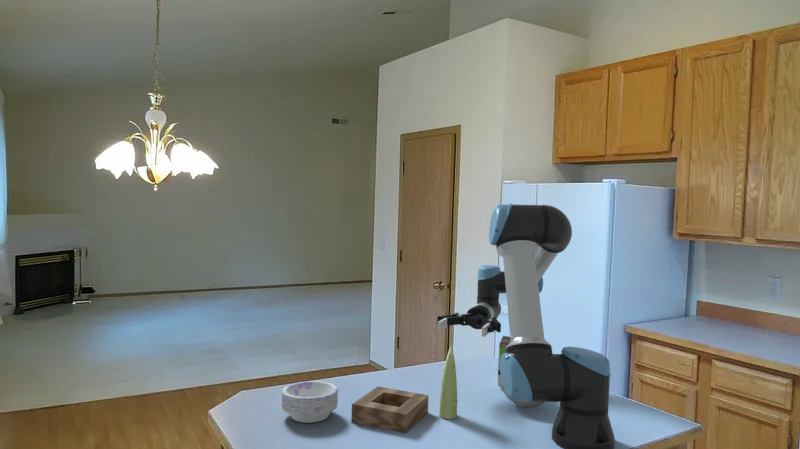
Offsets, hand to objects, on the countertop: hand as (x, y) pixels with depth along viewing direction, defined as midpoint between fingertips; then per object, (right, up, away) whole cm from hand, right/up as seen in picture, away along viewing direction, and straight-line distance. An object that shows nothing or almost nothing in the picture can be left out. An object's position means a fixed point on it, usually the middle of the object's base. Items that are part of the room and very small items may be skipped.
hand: (460, 329), depth 163 cm
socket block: (-20, -22, -10) cm, 32 cm away
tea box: (+23, -23, +21) cm, 39 cm away
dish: (+19, -23, +1) cm, 30 cm away
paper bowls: (-43, -22, -11) cm, 49 cm away
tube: (-4, -23, -8) cm, 25 cm away
